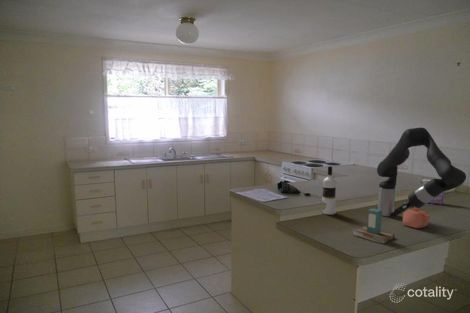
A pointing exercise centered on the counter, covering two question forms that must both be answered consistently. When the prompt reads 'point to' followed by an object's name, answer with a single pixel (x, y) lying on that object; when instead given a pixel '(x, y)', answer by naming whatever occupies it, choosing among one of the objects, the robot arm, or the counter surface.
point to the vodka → (329, 193)
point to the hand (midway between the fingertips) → (394, 214)
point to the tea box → (374, 221)
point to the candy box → (438, 198)
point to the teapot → (415, 218)
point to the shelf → (380, 238)
